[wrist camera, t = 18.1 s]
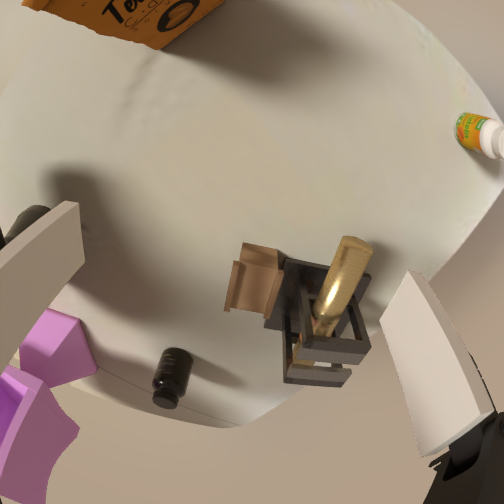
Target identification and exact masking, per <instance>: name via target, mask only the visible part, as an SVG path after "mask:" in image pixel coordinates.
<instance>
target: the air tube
mask: <svg viewBox="0 0 504 504" xmlns="http://www.w3.org/2000/svg"><path fill="white" fill-rule="evenodd" d="M372 253H373V249H372V247H371V246H370V245H369V244H368V243H366V242H365V241H363V240H361V239H359V238H356V237H353V236H343V237H342V239H341V241H340V244H339V247H338V249H337V252H336V254H335V257H334V259H333V262H332V264H331V266H330V269H329V271H328V274H327V276H326V278H325V281H324V283H323V285H322V288H321V290H320V292H319V295H318V297H317V299H316V302H315V304H314V306H313V308H312V310H311V319H312V326H313V334H314V335H319V336H327V337H331V335H332V332H333V330H334V329H335V327H336V325H337V323H338V321H339V319H340V318H341V316H342V314H343V312H344V310H345V308H346V306H347V304H348V302H349V301H350V299H351V297H352V295H353V293H354V291H355V289H356V287H357V285H358V283H359V281H360V279H361V276H362V274H363V272H364V270H365V268H366V266H367V264H368V262H369V259H370V257H371V255H372ZM301 344H302V339H301V333H300V336H299V338H298V340H297V343H296V345H295V347H294V349H293V351H292V353H293V363H294V364H302V365H311V366H313V365H314V363H315V361H309V360H300V359H296V353H297V352H298V350H299V348H300V346H301Z"/></svg>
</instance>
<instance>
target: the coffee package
mask: <svg viewBox="0 0 504 504" xmlns="http://www.w3.org/2000/svg"><path fill="white" fill-rule="evenodd" d="M224 1H225V0H24V1H23V2H22V4H21V5H23V6H27V7H29V8H31V9H33V10H35V11H40V10H43V11H46V12H49V13H51V14H55V15H57V16H59V17H61V18H63V19H65V20H68V21H72V22H75V23H77V24H80V25H84V26H86V27H87V28H89V29H91V30H94V31H95V32H96V33H98V34H100V35H105V36H113V37H117V38H120V39H123V40H127V41H133V42H135V43H143V44H145V45H146V46H148V47H150V48H152V49H154V50H159V49H161V48H163V47H164V46H166V45H167V44H168V43H170V42H171V41H172V40H173V39H175V38H176V37H177V36H178V35H180V34H181V33H182V32H184V31H185V30H186V29H188V28H189V27H190V26H192V25H193V24H194V23H196V22H197V21H198V20H200V19H201V18H202V17H203V16H205V15H206V14H207V13H209V12H210V11H212V10H213V9H215V8H216V7H217V6H219V5H220V4H221V3H223V2H224Z"/></svg>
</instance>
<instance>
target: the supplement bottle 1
mask: <svg viewBox="0 0 504 504" xmlns="http://www.w3.org/2000/svg"><path fill="white" fill-rule="evenodd" d="M192 365H193V359H192V357H191V356H190V355H189V354H188V353H187V352H186V351H184V350H182V349H178V348H168V349H166V350H164V351H163V353H162V356H161V358H160V361H159V364H158V367H157V370H156V373H155V375H154V378H153V382H152V386H153V389H154V390H155V391H154V395H153V398H152V400H153V402H154V403H155V404H156V405H158V406H159V407H162V408H165V409H175V408H176V407H177V404H178V401H179V398H181V397H183V396H184V395H185V393H186V389H187V385H188V381H189V377H190V373H191V369H192Z"/></svg>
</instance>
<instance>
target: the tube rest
mask: <svg viewBox="0 0 504 504" xmlns="http://www.w3.org/2000/svg"><path fill="white" fill-rule="evenodd" d="M283 276H284V270H279V269H278V254H277V249H272V248H267V247H263V246H258V245H253V244H248V243H243V245H242V249H241V254H240V259H239V261H234V262H233V267H232V272H231V277H230V282H229V287H228V292H227V297H226V303H225V308H224V311H227V312H230V307H231V308H236V309H242V310H247V311H252V312H258V313H263V314H264V319H269V318H270V315H271V312H272V309H273V306H274V303H275V300H276V297H277V294H278V291H279V289H280V286H281V282H282V279H283Z"/></svg>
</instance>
